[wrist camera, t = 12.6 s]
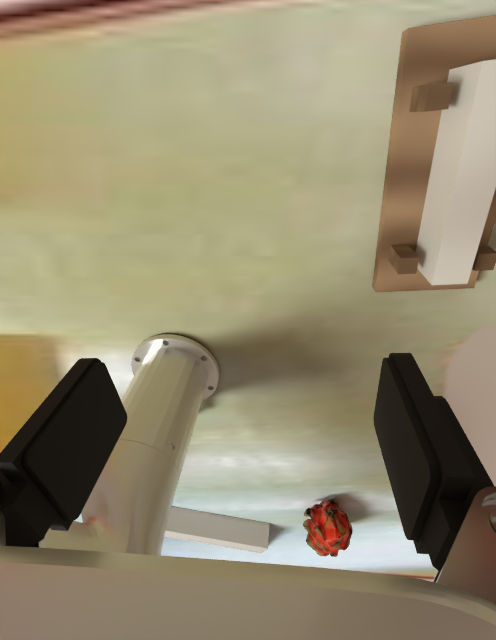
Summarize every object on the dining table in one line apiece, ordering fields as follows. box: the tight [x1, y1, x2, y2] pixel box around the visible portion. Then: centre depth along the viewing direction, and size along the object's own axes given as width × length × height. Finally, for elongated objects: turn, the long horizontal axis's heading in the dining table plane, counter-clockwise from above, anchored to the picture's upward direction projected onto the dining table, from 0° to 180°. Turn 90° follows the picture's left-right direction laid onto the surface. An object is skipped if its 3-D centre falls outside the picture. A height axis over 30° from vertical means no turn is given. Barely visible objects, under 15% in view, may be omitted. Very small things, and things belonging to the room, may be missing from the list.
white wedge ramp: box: [164, 506, 270, 553], centre depth 71 cm, size 34×5×10 cm
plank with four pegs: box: [372, 15, 496, 292], centre depth 28 cm, size 22×10×5 cm, turn 6°
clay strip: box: [415, 59, 496, 285], centre depth 27 cm, size 16×3×5 cm, turn 6°
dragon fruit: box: [303, 499, 352, 557], centre depth 60 cm, size 8×8×12 cm
